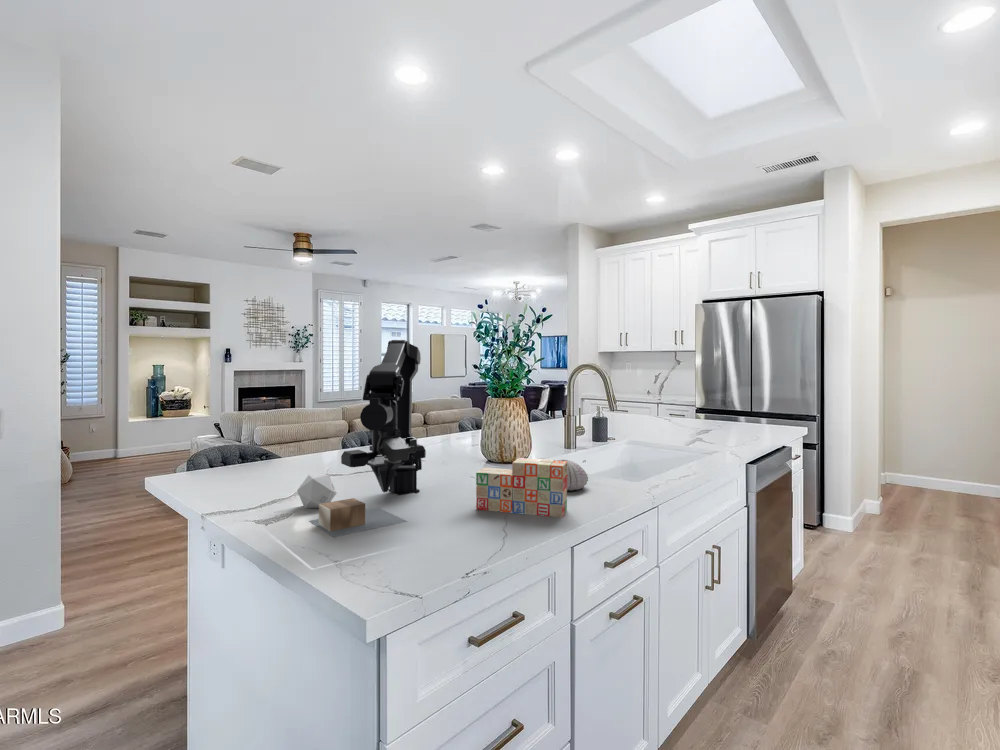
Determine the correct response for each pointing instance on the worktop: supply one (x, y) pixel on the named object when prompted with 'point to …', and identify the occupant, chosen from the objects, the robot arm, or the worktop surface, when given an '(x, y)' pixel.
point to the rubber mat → (366, 522)
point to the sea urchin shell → (575, 476)
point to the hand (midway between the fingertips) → (384, 491)
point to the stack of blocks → (524, 488)
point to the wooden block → (341, 514)
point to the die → (316, 491)
